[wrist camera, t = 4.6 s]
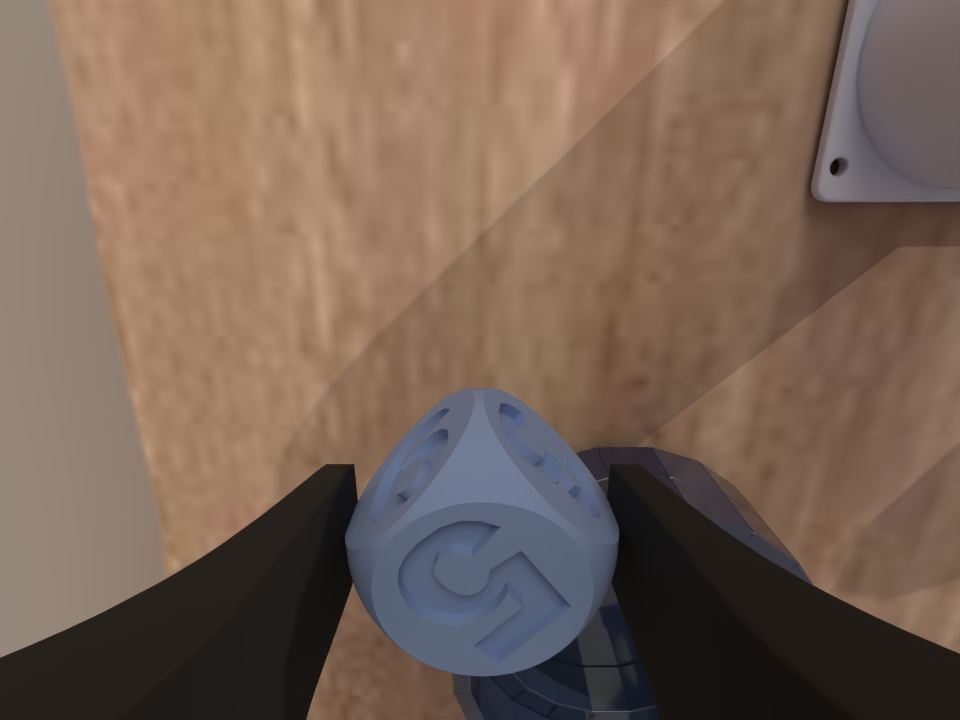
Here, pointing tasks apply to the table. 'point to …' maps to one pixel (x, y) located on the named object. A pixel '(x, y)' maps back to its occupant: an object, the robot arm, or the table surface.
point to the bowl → (615, 613)
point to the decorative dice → (482, 538)
